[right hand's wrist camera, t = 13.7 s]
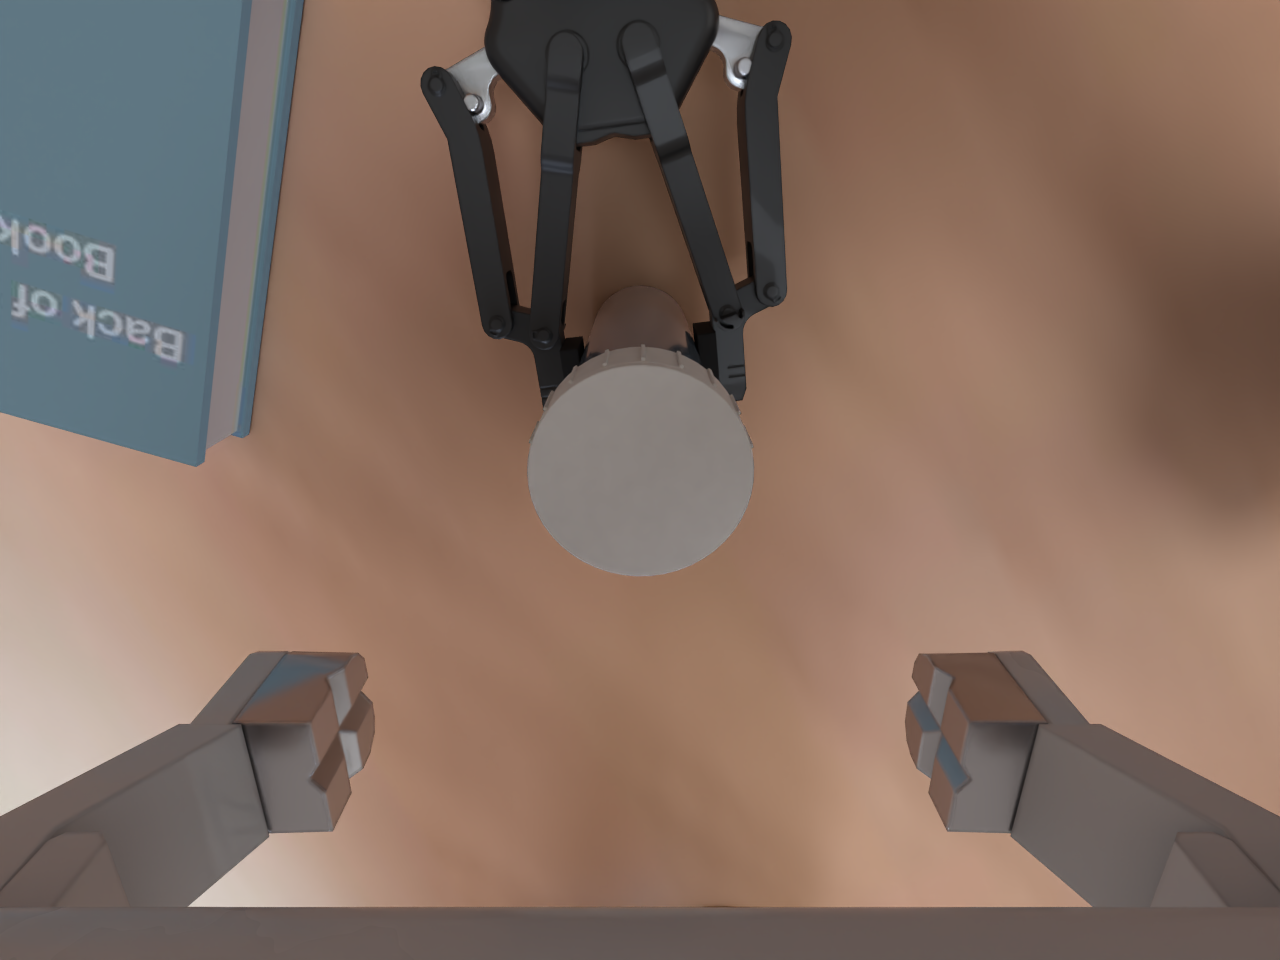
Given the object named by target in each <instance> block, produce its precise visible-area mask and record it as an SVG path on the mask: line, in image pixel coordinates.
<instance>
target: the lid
mask: <svg viewBox="0 0 1280 960" xmlns="http://www.w3.org/2000/svg"><path fill="white" fill-rule="evenodd" d="M543 410H544V412H543V415H542V417H541V419H540V421H538V422H537V424H536V427H535V429H534V431H533V433H532V436H531V438H530V440H529V443H530V444H531V445H530V450H529V455H528V466H527V476H528V486H529V491H530V495H531V499H532V502H533V504H534V507H535V510H536V512H537V514H538V516H539V518H540V520H541V521H542V523H543V525H544V526H545V528H546V529H547V530H548V532H549V533H550V534H551V536H552V537H553V538H554V539H555V540H556V541H557V542H558V543H559V544H560V545H561V546H562V547H563V548H564V549H566V550H567V551H568V552H569V553H571V554H572V555H573V556H575V557H577V558H578V559H580V560H581V561H583V562H585V563H587V564H589V565H591V566H594V567H596V568H599V569H602V570H605V571H608V572H611V573H616V574H621V575H630V576H653V575H660V574H666V573H670V572H673V571H677V570H680V569H683V568H685V567H688V566H690V565H692V564H694V563H696V562H698V561H700V560H702V559H703V558H705V557H706V556H708V555H709V554H711V553H712V552H713V551H715V550H716V549H717V548H718V547H719V546H720V545H721V544H722V543H724V542H725V541H726V539H727V538H728V537H729V536H730V535H731V533H732V532H733V531H734V530H735V528H736V527H737V525H738V524H739V522H740V520H741V519H742V517H743V515H744V513H745V510H746V508H747V506H748V503H749V500H750V496H751V493H752V487H753V481H754V461H753V452H752V448H753V444H752V441H751V439H750V437H749V435H748V432H747V430H746V428H745V426H744V425H743V423H742V421H741V419H740V416H739V415H740V414H741V412H740V410H739V408H738V405H737V403H736V401H735V399H734V397H733V395H732V394H731V395H729V394H728V392H727V391H726V389H725V388H724V387H723V386H722V384H721V383H720V382H719V381H718V380H717V379H716V378H715V377H714V375H713V373H712V370H711V369H710V368H708V369H705V368H704V367H702V366H701V365H700V364H698V363H697V362H695V361H693V360H691V359H689V358H688V357H686V356H683V355H681V352H680V351H677V352H676V353H675V352H673V351H669V350H664V349H660V348H653V347H645V344H641V347H628V348H622V349H616V350H613V351H609V349H607V350H605V353H603V354H601V355H598V356H596V357H594V358H592V359H590V360H588V361H587V362H585V363H583V364H582V365H580V366H579V367H578V366H577V365H576V366H574V367H573V370H572V372H571V373H570V374H569V375H568V376H567V377H566V378H565V379H564V380H563V381H562V382H561V383H560V384H559V386H558V387H557V389H556V390H555V392H554V391H551V392H550V394H549V396H548V399H547V401H546V403H545V405H544V408H543Z"/></svg>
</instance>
